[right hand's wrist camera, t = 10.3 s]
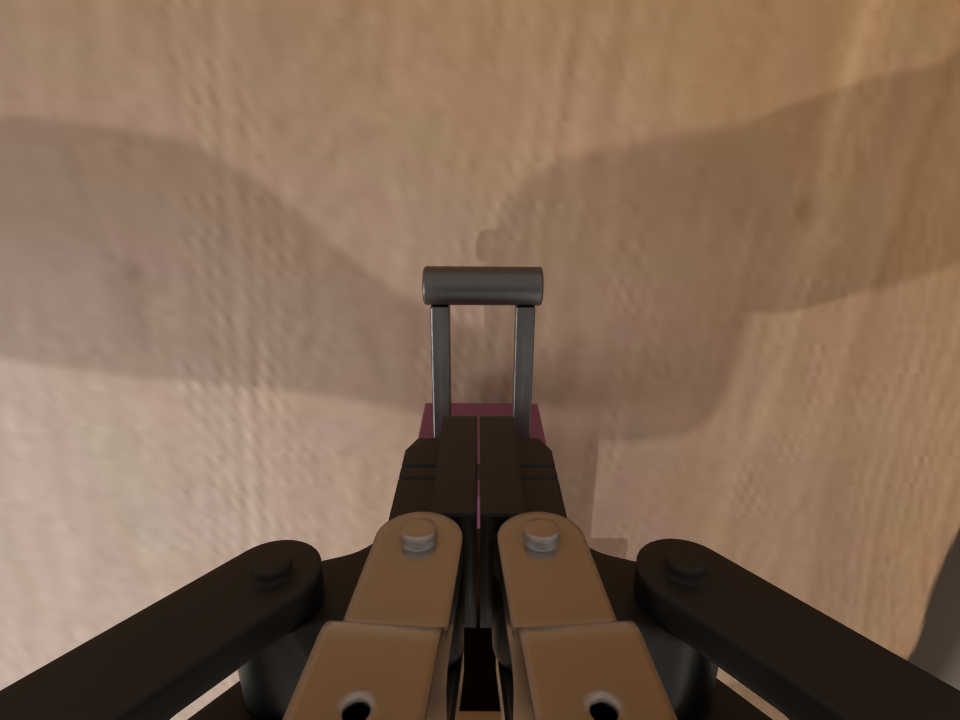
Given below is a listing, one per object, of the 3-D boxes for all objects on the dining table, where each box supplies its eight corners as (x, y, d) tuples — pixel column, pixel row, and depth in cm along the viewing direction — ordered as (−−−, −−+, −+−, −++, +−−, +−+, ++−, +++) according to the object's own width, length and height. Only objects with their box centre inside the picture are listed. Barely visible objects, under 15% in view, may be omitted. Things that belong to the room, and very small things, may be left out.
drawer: (420, 250, 21) (396, 293, 15) (544, 250, 21) (570, 294, 15) (435, 738, 29) (423, 891, 23) (522, 739, 29) (533, 891, 23)
